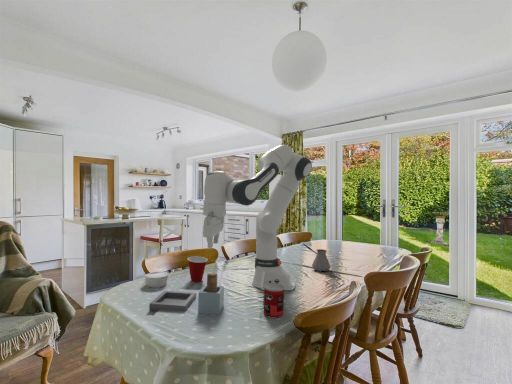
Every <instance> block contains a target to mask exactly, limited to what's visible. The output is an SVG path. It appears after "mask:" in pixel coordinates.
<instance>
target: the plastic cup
mask: <svg viewBox="0 0 512 384" xmlns="http://www.w3.org/2000/svg"><path fill="white" fill-rule="evenodd" d="M208 260H209V259H208V258H206V257H203V256H198V255H197V256H196V255H195V256H190V257H187V261H188V268H189V275H190V281H191V282H193V283H199V282H200V283H201V282H202V281H203V279H204V274H205V269H206V264H207V262H208Z"/></svg>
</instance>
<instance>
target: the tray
mask: <svg viewBox="0 0 512 384" xmlns="http://www.w3.org/2000/svg"><path fill="white" fill-rule="evenodd" d="M196 298H197V292H192V291H191V292H189V291H174V290H163V292H162V293H161V292H160V294H159V295H158V296H157V297H155V298H154V299H153V300H152V301H150V303H149V309H148V310H149V312H159V311H160V310H161V311H162V310H163V311H165V310H166V311H179V312H185V311H186V310H187V309H188V308H189V307H190V305H191V304H192V303H193V302H194V301H195V300H196Z"/></svg>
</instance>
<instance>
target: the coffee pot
mask: <svg viewBox="0 0 512 384" xmlns="http://www.w3.org/2000/svg"><path fill="white" fill-rule="evenodd" d="M303 246H304V247H306V248H307V249H308V250H310V251H311V252H313V253H314V254H315V258H314V260H313V262H312V264H311V266H312V269H314V271H315V270H317V271H316V272H318V271H330V269H331V264H330V262H329V259H328V256H327V252H328V251H327V250H326V249H321V248H320V249H318V248H317V249H316V251H315V250H313V248H311V247H310V246H308V245H307V244H305V243H302V244H301V247H303Z"/></svg>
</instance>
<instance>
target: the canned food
mask: <svg viewBox="0 0 512 384" xmlns="http://www.w3.org/2000/svg"><path fill="white" fill-rule="evenodd" d="M284 301H285V290H284V286H282V285H279V284H267V285H265V286H264V290H263V314H264V315H265V316H266V315H267V316H266V317H268V316H270V317H269V318H272V317H277V318H280V317H279V316H281V315H282V316H283V314H284V305H285V303H284ZM282 316H281V317H282Z"/></svg>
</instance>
